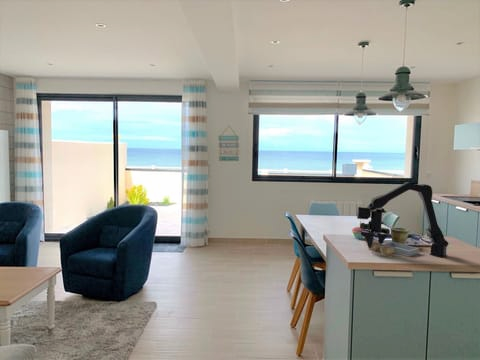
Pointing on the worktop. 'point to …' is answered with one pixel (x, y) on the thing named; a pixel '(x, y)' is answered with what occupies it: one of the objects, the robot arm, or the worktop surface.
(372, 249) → the block
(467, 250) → the worktop surface
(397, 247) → the tray
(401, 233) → the ceramic cup
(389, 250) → the block
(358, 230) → the cupcake
